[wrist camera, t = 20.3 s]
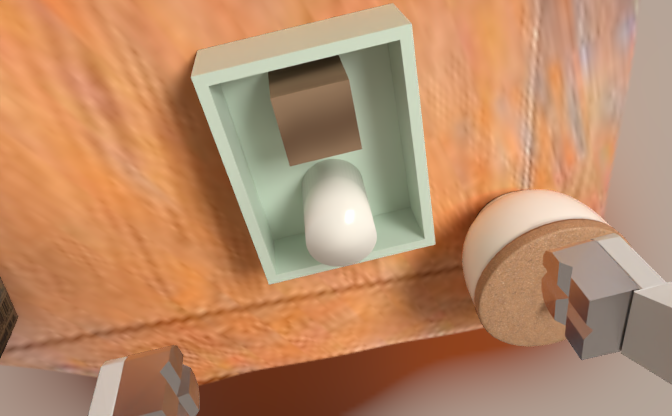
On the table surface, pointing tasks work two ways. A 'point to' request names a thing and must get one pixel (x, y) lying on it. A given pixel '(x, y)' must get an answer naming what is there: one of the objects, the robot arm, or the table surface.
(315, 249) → the white rounded cylinder
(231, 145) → the tote
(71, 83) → the table surface
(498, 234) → the lidded bowl
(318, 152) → the walnut block
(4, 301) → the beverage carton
